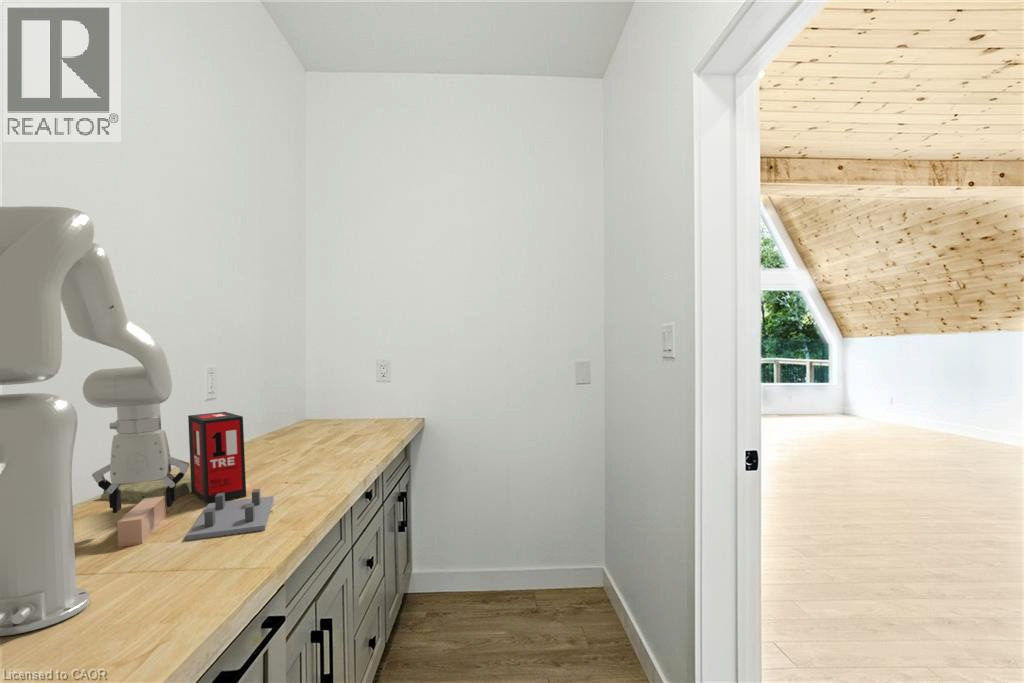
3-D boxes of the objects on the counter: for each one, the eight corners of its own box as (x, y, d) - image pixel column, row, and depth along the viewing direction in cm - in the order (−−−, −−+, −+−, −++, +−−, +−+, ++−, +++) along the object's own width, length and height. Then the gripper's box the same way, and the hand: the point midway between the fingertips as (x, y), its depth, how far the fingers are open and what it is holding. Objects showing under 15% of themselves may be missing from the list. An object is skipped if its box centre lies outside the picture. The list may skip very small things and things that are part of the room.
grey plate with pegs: (264, 530, 117) (264, 510, 117) (186, 540, 113) (186, 520, 113) (273, 500, 140) (272, 483, 140) (209, 507, 136) (208, 490, 136)
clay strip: (142, 544, 112) (141, 519, 112) (118, 548, 111) (117, 522, 111) (165, 518, 129) (164, 496, 129) (145, 520, 128) (144, 498, 128)
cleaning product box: (246, 496, 145) (242, 416, 144) (206, 504, 139) (203, 420, 139) (228, 485, 157) (225, 411, 157) (191, 492, 151) (188, 415, 151)
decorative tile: (154, 484, 165) (153, 471, 165) (215, 485, 160) (215, 472, 160) (94, 502, 146) (93, 488, 146) (162, 504, 142) (161, 490, 142)
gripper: (83, 433, 114) (88, 519, 114) (182, 425, 119) (187, 507, 120) (97, 427, 121) (101, 508, 122) (190, 420, 126) (194, 497, 127)
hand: (144, 508), depth 121 cm, fingers open, 9 cm apart
